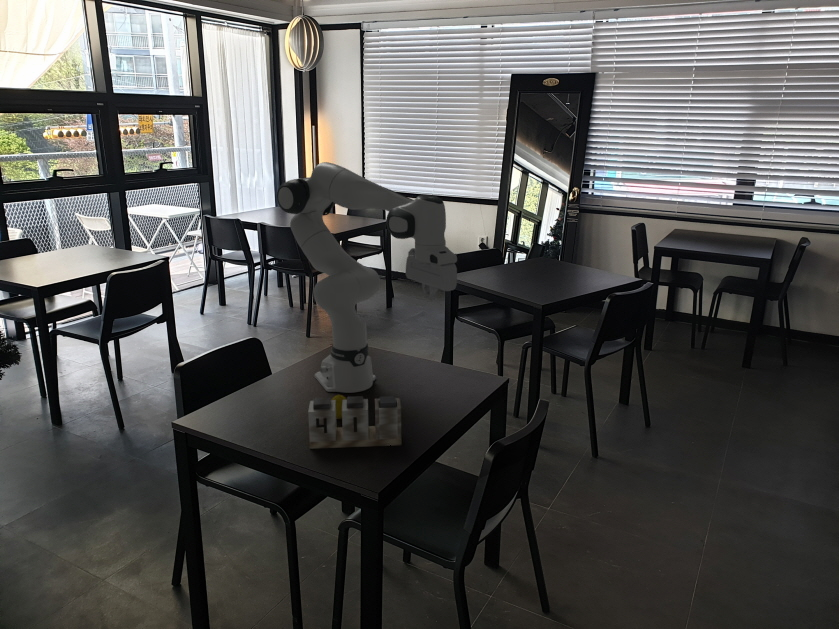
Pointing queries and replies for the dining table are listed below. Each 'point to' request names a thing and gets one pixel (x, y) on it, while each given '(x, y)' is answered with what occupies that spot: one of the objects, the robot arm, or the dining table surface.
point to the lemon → (339, 405)
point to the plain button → (387, 401)
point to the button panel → (353, 424)
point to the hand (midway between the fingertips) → (429, 299)
